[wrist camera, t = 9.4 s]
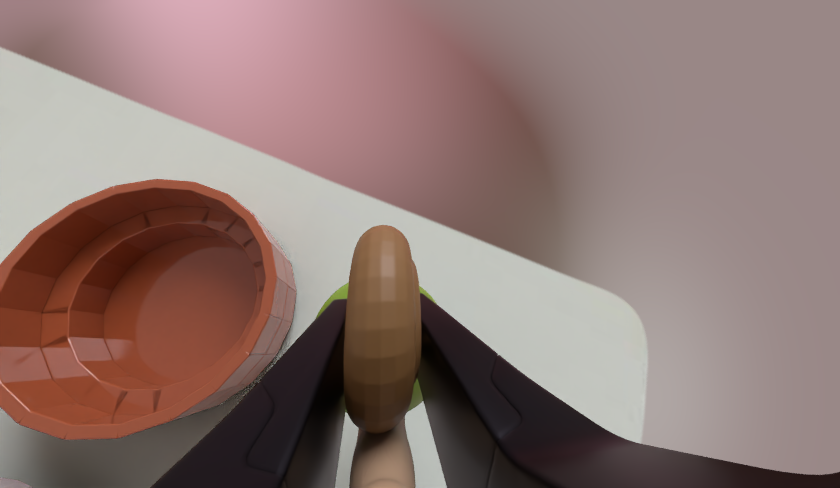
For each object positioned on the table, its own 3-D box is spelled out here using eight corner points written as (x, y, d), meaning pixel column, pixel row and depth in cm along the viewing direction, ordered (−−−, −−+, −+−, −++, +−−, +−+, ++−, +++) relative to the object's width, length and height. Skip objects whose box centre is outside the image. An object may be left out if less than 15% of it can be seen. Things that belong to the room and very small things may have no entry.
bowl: (336, 288, 22) (326, 271, 17) (178, 468, 17) (106, 511, 13) (203, 183, 23) (160, 140, 18) (22, 325, 18) (-96, 315, 14)
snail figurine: (319, 437, 13) (-47, 922, 2) (325, 290, 15) (172, 114, 4) (442, 425, 14) (700, 726, 3) (431, 287, 16) (548, 128, 5)
